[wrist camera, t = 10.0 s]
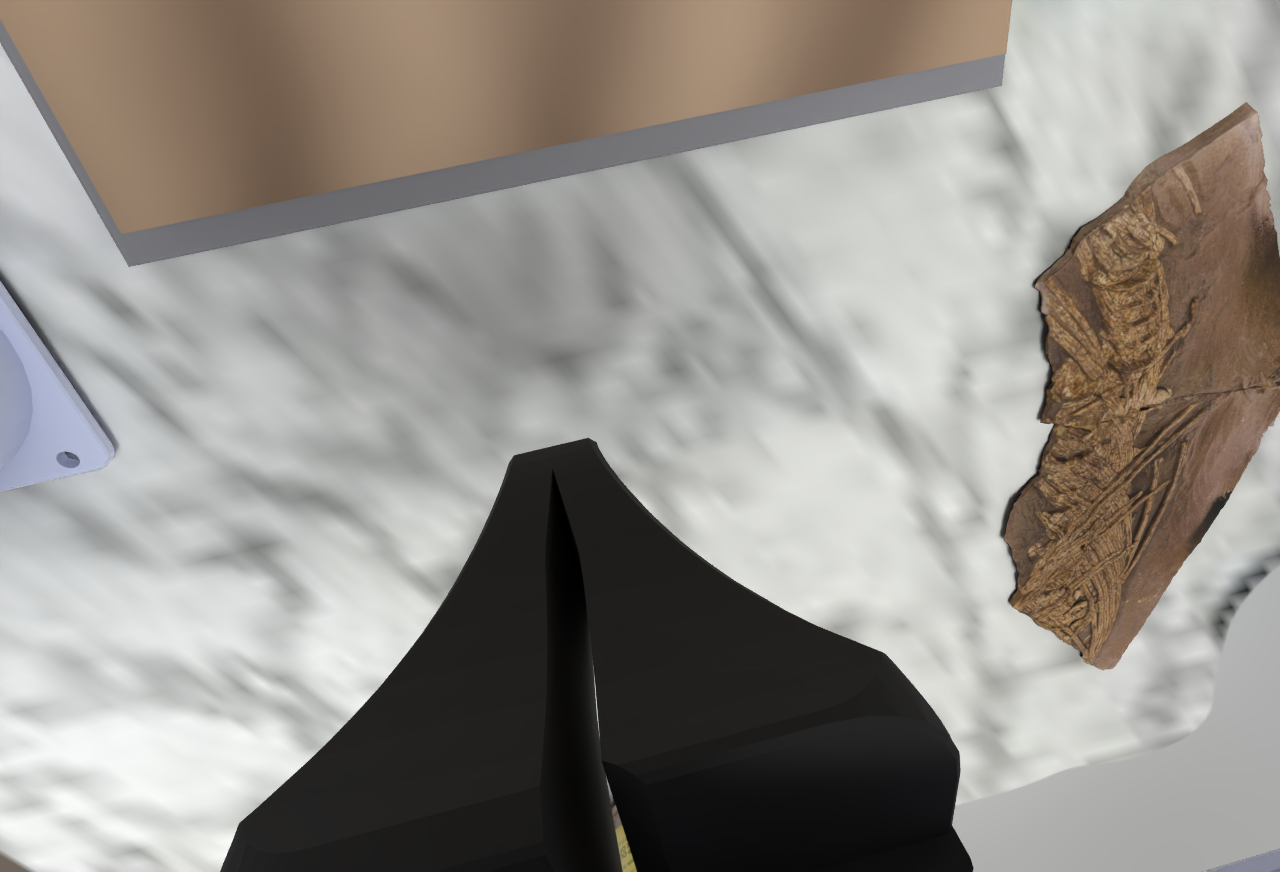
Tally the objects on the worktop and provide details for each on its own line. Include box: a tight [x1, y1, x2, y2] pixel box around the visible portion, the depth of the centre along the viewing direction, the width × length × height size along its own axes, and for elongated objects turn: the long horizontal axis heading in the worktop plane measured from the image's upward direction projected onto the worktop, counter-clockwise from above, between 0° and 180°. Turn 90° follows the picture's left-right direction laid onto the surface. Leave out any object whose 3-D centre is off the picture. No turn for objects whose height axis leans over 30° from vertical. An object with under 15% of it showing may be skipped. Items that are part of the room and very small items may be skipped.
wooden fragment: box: [1004, 102, 1280, 670], centre depth 27 cm, size 26×11×1 cm, turn 11°
